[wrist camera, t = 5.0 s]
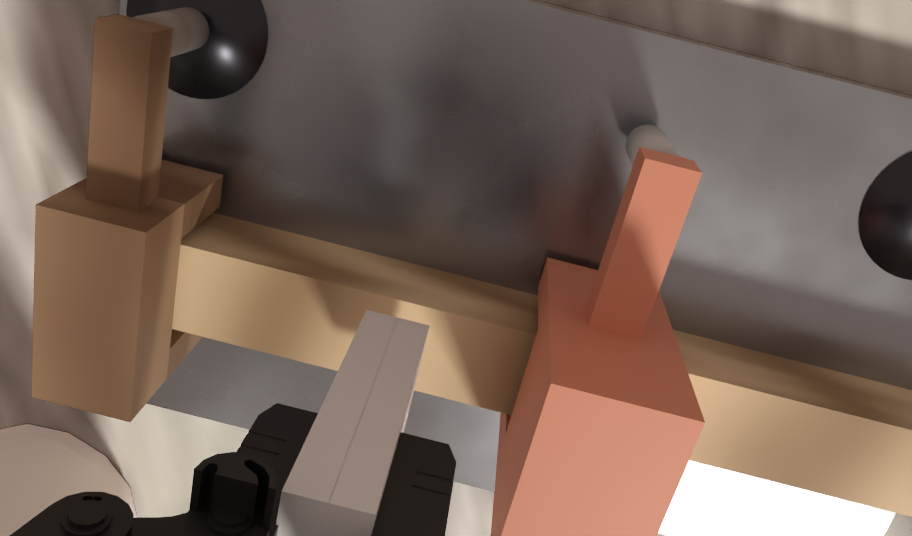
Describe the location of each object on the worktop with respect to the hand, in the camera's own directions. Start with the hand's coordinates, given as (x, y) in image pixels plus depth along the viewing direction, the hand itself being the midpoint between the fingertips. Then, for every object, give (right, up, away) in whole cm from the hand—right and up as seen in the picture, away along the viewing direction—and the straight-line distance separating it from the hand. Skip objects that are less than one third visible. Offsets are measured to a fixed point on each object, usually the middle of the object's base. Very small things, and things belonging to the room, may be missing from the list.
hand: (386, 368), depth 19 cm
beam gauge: (+4, +2, +3) cm, 5 cm away
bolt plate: (+4, +2, +4) cm, 6 cm away
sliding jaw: (+5, +2, +2) cm, 6 cm away
